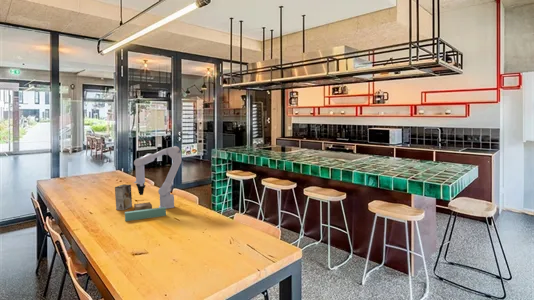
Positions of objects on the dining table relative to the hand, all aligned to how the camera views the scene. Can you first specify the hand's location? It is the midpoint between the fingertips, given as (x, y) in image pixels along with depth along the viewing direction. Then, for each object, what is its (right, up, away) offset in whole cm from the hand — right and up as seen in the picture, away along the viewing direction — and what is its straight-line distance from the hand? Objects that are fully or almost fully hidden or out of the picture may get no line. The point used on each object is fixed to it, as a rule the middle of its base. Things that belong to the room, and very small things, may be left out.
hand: (141, 194), depth 218 cm
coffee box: (-11, -10, -1) cm, 15 cm away
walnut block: (+5, -11, -9) cm, 15 cm away
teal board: (+12, -12, -21) cm, 27 cm away
